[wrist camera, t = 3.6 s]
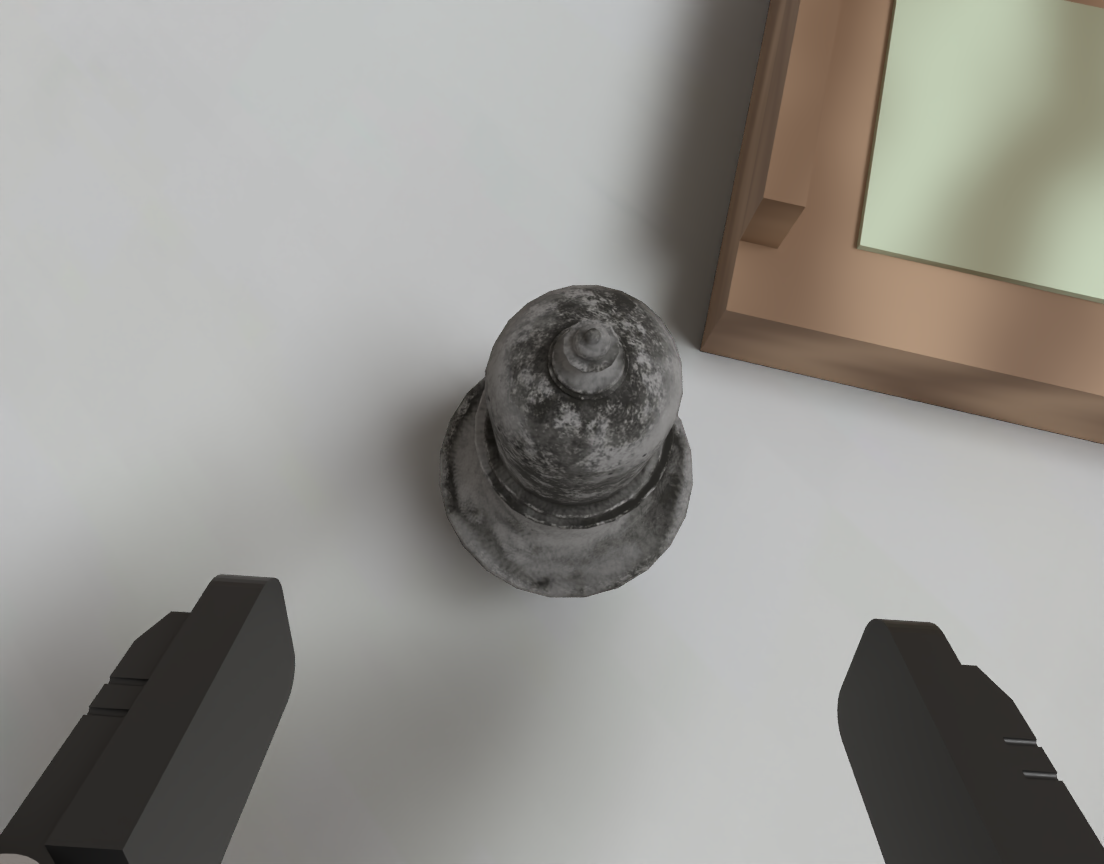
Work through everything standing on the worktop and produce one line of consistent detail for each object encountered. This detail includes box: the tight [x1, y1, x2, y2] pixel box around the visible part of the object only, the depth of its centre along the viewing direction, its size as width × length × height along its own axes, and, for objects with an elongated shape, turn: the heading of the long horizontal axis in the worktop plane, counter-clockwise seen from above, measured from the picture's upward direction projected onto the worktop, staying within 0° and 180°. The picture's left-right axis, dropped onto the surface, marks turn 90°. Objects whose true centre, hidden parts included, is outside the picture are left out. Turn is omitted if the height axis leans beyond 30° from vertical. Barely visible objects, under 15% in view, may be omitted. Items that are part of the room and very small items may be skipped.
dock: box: [700, 0, 1104, 444], centre depth 20 cm, size 15×14×5 cm
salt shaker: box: [439, 285, 693, 597], centre depth 14 cm, size 6×6×12 cm
